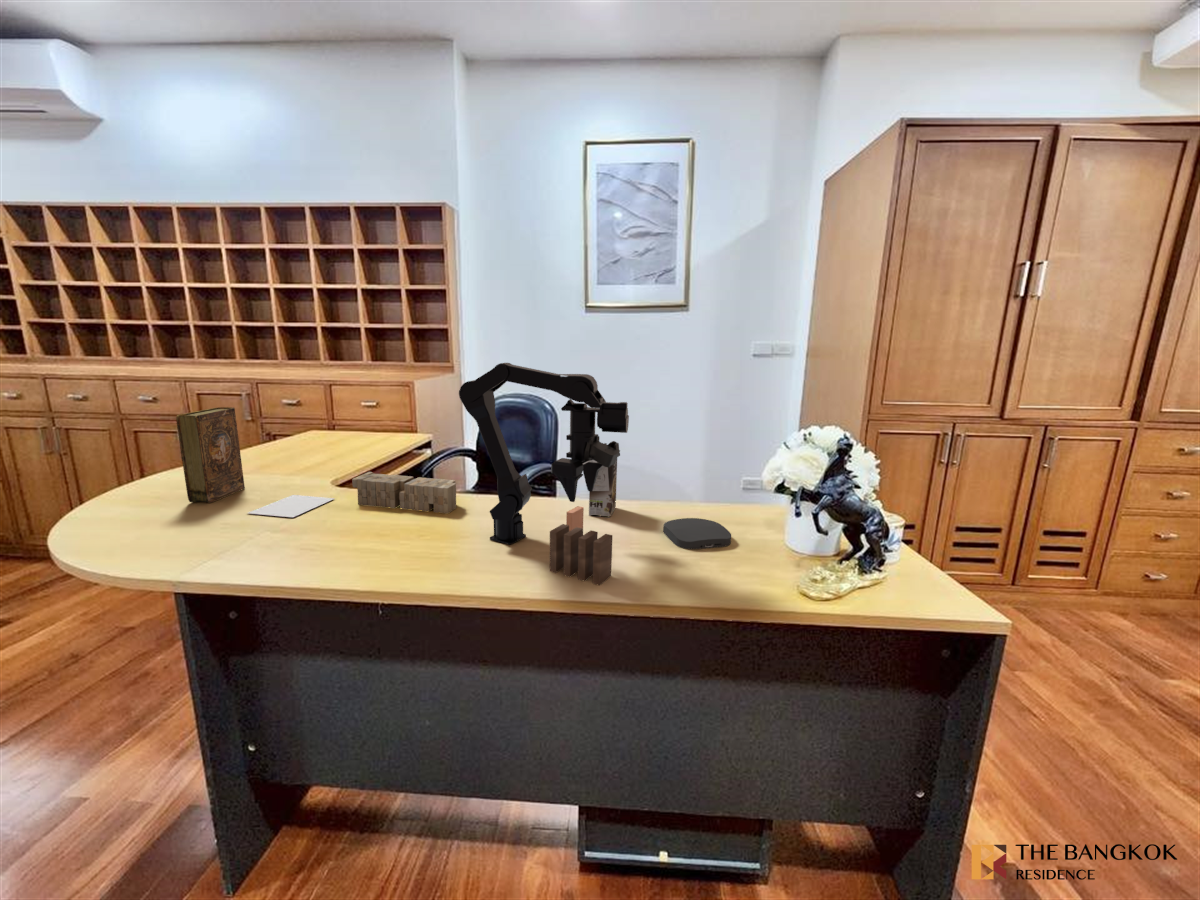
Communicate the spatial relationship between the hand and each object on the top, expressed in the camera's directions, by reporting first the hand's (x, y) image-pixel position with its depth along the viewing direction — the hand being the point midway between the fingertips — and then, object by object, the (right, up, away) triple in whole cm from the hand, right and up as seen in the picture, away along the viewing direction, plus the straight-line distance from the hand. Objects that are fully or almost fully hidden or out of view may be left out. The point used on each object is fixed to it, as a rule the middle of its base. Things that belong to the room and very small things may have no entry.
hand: (581, 496), depth 122 cm
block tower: (-51, -5, +28) cm, 58 cm away
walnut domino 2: (-1, -15, -11) cm, 19 cm away
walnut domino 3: (+2, -15, -13) cm, 20 cm away
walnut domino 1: (-4, -15, -10) cm, 18 cm away
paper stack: (-78, -7, +19) cm, 80 cm away
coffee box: (+5, -7, +26) cm, 28 cm away
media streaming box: (+29, -12, +10) cm, 32 cm away
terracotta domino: (-2, -12, +2) cm, 12 cm away
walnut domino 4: (+5, -16, -15) cm, 22 cm away
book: (-108, -3, +32) cm, 112 cm away
